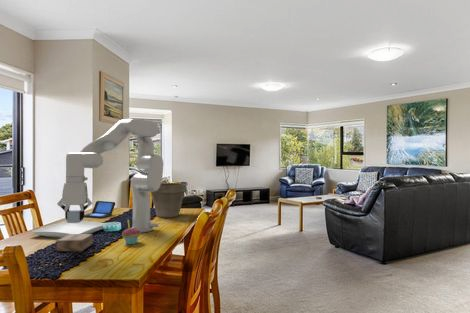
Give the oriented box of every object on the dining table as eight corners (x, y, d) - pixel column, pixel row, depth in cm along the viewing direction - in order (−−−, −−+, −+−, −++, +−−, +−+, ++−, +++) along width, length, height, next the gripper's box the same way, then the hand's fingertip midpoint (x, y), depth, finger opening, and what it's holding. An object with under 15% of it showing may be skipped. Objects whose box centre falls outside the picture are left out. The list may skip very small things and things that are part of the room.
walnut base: (92, 244, 155) (92, 234, 155) (81, 251, 144) (81, 240, 144) (69, 244, 155) (69, 234, 155) (56, 251, 144) (56, 240, 144)
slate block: (82, 220, 152) (82, 209, 152) (79, 222, 147) (79, 211, 147) (70, 220, 151) (70, 209, 151) (67, 222, 147) (67, 211, 147)
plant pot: (157, 211, 238) (157, 181, 238) (190, 212, 235) (190, 182, 235) (143, 218, 214) (143, 185, 213) (179, 220, 210) (179, 186, 210)
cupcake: (130, 246, 152) (130, 220, 152) (117, 243, 156) (118, 218, 156) (144, 242, 159) (144, 217, 159) (132, 239, 164) (132, 215, 163)
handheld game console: (82, 217, 217) (82, 203, 217) (96, 213, 230) (96, 200, 230) (103, 219, 213) (103, 204, 213) (115, 215, 226) (115, 201, 226)
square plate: (77, 241, 161) (77, 233, 161) (30, 238, 166) (30, 230, 166) (109, 228, 187) (109, 222, 187) (67, 226, 193) (67, 219, 193)
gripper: (97, 179, 154) (96, 217, 155) (58, 179, 152) (57, 218, 152) (92, 180, 147) (92, 221, 147) (51, 180, 144) (51, 222, 144)
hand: (74, 219), depth 149 cm, fingers closed on slate block, 5 cm apart
